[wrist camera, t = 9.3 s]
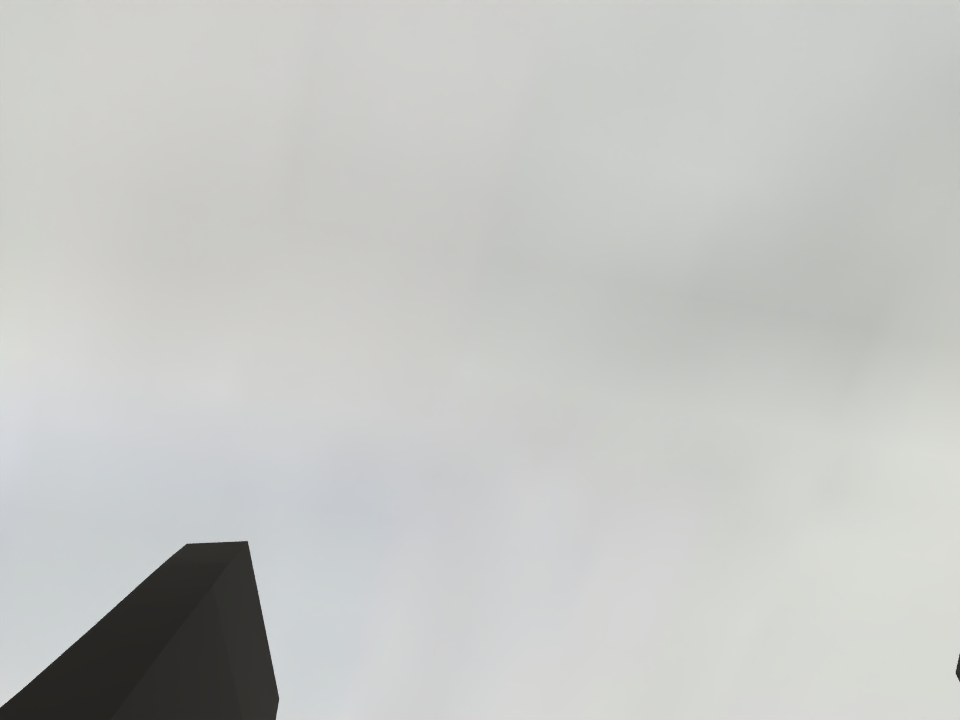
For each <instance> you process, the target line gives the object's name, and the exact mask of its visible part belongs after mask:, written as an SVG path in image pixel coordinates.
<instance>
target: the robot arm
mask: <svg viewBox="0 0 960 720" xmlns="http://www.w3.org/2000/svg"><path fill="white" fill-rule="evenodd" d="M956 675H957V677H958V679H959V681H960V655H959V660H958V664H957V669H956ZM278 703H279V695H278V690H277V685H276V680H275V675H274V670H273V665H272V660H271V655H270V650H269V645H268V640H267V635H266V630H265V625H264V620H263V615H262V610H261V605H260V600H259V595H258V590H257V585H256V580H255V575H254V570H253V565H252V560H251V555H250V550H249V545H248V541H241V542H218V543H196V544H186V545H185V546H184V547H182V548H181V549H180V550H179V551H177V552H176V553H175V554H174V555H173V556H171V557H170V558H169V559H168V560H167V561H166V562H164V563H163V564H162V565H161V566H160V567H159V568H158V569H157V570H155V571H154V572H153V573H152V574H151V575H150V576H149V577H148V578H146V579H145V580H144V581H143V582H142V583H141V584H140V585H139V586H138V587H136V588H135V589H134V590H133V591H132V592H131V593H130V594H129V595H128V596H127V597H125V598H124V599H123V600H122V601H121V602H120V603H119V604H118V605H117V606H116V607H114V608H113V609H112V610H111V611H110V612H109V613H108V614H107V615H106V616H104V617H103V618H102V619H101V620H100V621H99V622H98V623H97V624H96V625H95V626H93V627H92V628H91V629H90V630H89V631H88V632H87V633H85V634H84V635H83V636H82V637H81V638H80V639H79V640H78V641H76V642H75V643H74V644H73V645H72V646H71V647H70V648H69V649H67V650H66V651H65V652H64V653H63V654H62V655H61V656H59V657H58V658H57V659H56V660H55V661H54V662H53V663H52V664H50V665H49V666H48V667H47V668H46V669H45V670H44V671H43V672H41V673H40V674H39V675H38V676H37V677H36V678H35V679H33V680H32V681H31V682H30V683H29V684H28V685H27V686H26V687H24V688H23V689H22V690H21V691H20V692H19V693H17V694H16V695H15V696H14V697H13V698H11V699H10V700H9V701H8V702H7V703H5V704H4V705H3V706H2V707H1V708H0V720H276V714H277V709H278Z"/></svg>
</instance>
